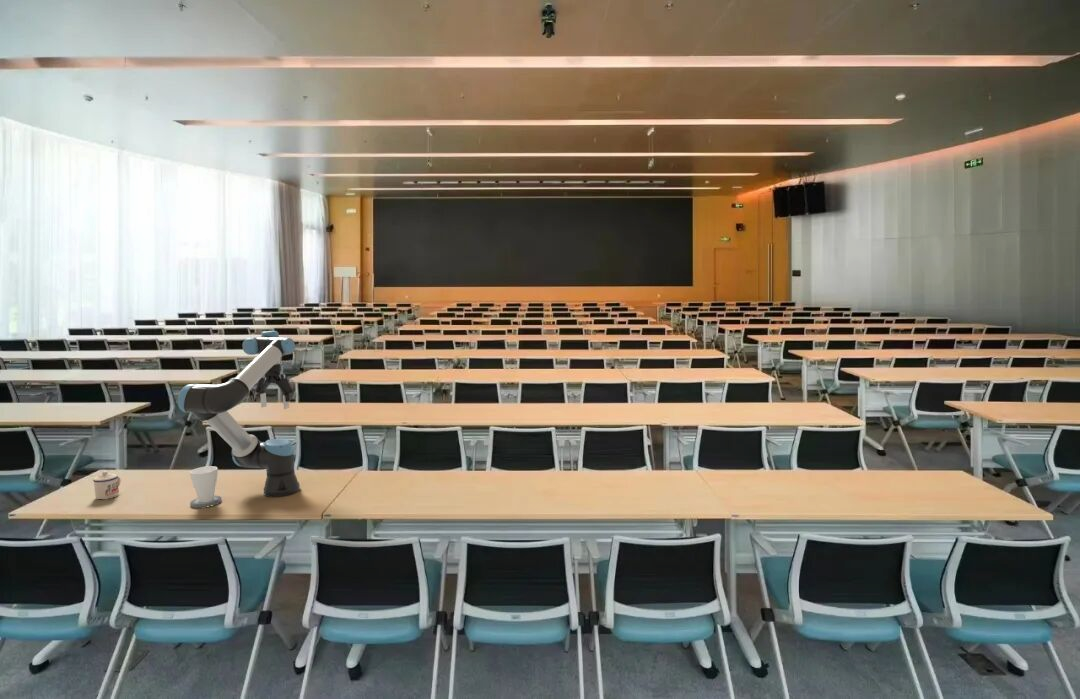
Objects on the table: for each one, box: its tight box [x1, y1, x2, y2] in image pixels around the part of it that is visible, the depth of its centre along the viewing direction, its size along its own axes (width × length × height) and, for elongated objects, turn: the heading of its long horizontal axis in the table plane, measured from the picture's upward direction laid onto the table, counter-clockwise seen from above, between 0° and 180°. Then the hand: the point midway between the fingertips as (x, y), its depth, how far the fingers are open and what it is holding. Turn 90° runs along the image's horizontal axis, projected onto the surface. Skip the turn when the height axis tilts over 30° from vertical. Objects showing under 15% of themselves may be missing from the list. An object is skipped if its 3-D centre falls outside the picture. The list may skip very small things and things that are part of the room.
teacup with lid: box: [92, 470, 122, 500], centre depth 280 cm, size 12×9×12 cm
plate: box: [189, 495, 223, 509], centre depth 268 cm, size 12×12×1 cm
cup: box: [189, 465, 219, 503], centre depth 267 cm, size 10×10×14 cm
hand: (275, 407), depth 296 cm, fingers open, 13 cm apart
